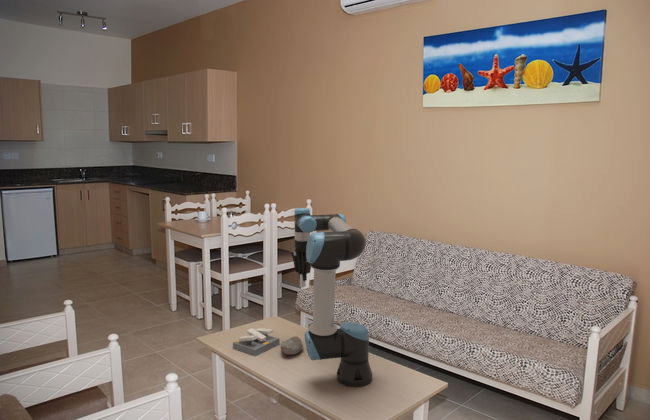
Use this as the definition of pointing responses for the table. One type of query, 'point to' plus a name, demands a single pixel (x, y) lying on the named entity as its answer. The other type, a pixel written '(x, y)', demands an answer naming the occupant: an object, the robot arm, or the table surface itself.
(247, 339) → the plate
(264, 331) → the rocker
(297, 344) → the seashell
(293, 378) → the table surface
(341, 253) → the robot arm
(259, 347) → the switch unit
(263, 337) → the rocker
